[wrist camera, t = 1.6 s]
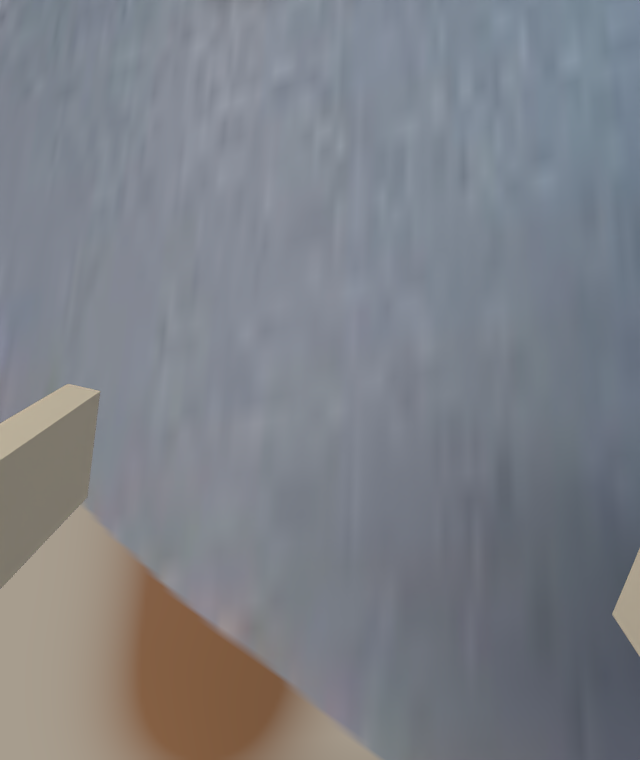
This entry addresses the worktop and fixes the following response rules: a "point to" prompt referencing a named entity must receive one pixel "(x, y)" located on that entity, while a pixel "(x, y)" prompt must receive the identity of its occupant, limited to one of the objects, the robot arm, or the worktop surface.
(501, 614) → the worktop surface
